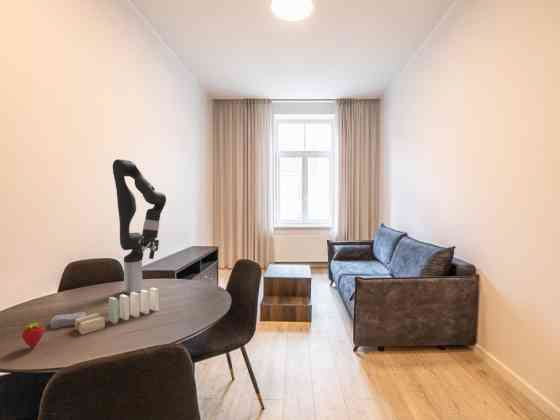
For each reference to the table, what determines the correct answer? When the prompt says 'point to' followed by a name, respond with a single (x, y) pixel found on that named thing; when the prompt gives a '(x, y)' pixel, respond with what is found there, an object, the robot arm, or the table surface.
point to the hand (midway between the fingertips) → (145, 259)
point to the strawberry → (32, 334)
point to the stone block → (66, 319)
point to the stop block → (89, 323)
